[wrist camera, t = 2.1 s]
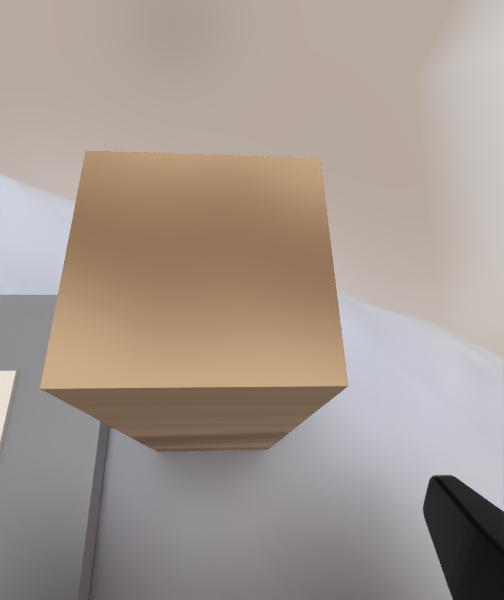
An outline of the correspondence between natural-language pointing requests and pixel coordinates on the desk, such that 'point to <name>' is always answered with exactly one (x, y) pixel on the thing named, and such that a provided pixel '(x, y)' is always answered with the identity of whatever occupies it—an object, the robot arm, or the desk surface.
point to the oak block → (197, 300)
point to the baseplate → (43, 466)
